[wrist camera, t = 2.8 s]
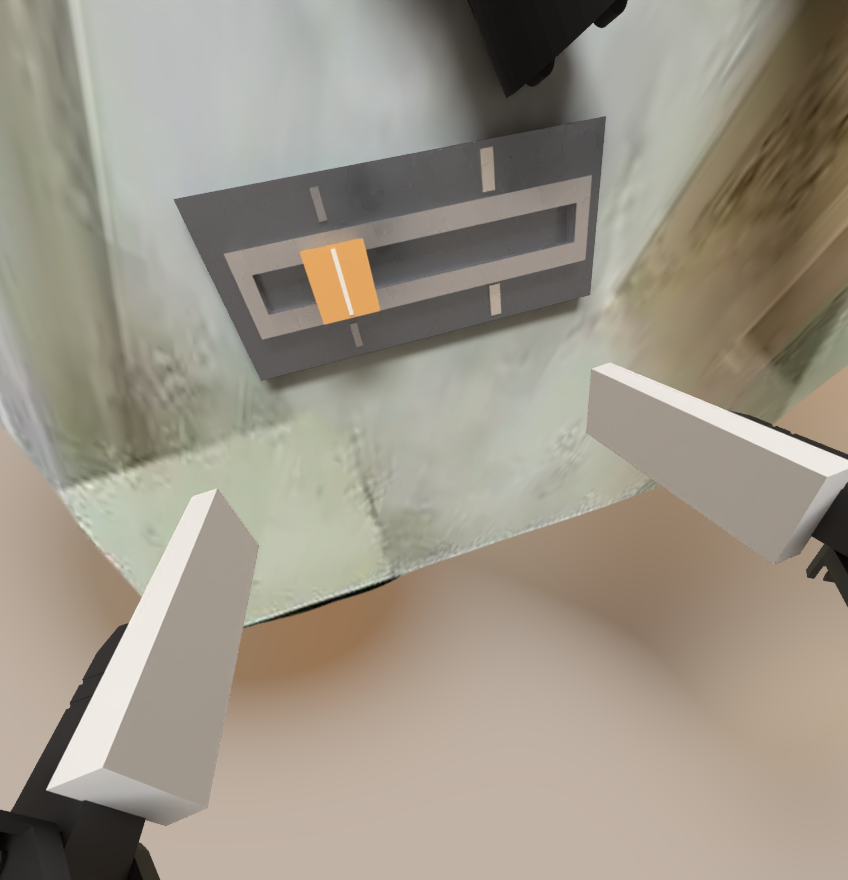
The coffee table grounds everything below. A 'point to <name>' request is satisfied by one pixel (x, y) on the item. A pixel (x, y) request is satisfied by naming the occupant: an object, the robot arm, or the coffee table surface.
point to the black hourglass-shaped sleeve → (535, 33)
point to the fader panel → (406, 242)
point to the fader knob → (341, 280)
